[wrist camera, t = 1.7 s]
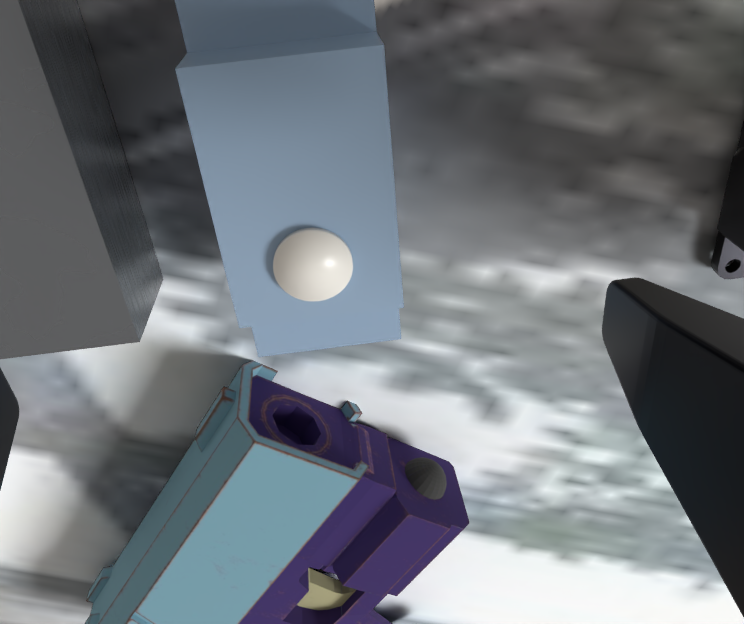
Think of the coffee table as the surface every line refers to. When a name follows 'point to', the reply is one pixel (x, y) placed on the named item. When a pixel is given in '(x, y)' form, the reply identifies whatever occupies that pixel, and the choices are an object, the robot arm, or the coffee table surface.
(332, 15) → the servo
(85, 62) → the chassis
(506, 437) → the coffee table surface
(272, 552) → the pistol
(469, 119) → the coffee table surface
